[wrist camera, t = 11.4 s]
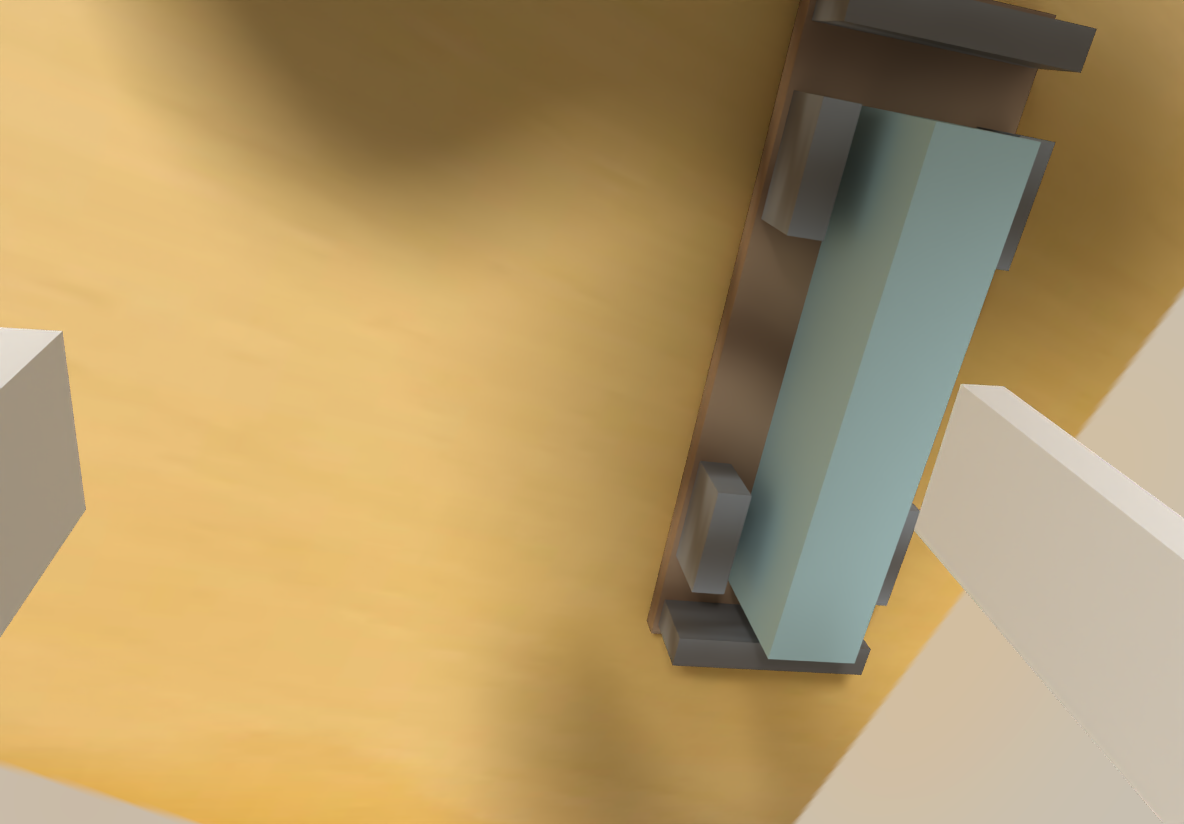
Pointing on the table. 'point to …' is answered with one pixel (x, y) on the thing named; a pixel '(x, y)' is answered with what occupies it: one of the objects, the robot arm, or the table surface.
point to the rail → (872, 374)
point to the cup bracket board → (790, 249)
